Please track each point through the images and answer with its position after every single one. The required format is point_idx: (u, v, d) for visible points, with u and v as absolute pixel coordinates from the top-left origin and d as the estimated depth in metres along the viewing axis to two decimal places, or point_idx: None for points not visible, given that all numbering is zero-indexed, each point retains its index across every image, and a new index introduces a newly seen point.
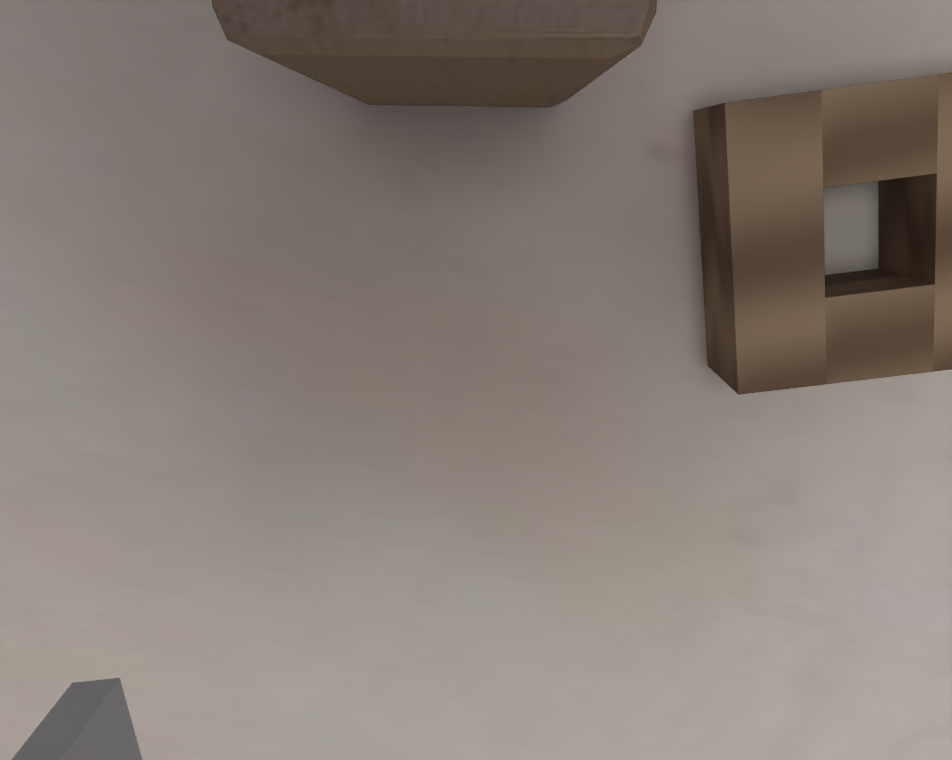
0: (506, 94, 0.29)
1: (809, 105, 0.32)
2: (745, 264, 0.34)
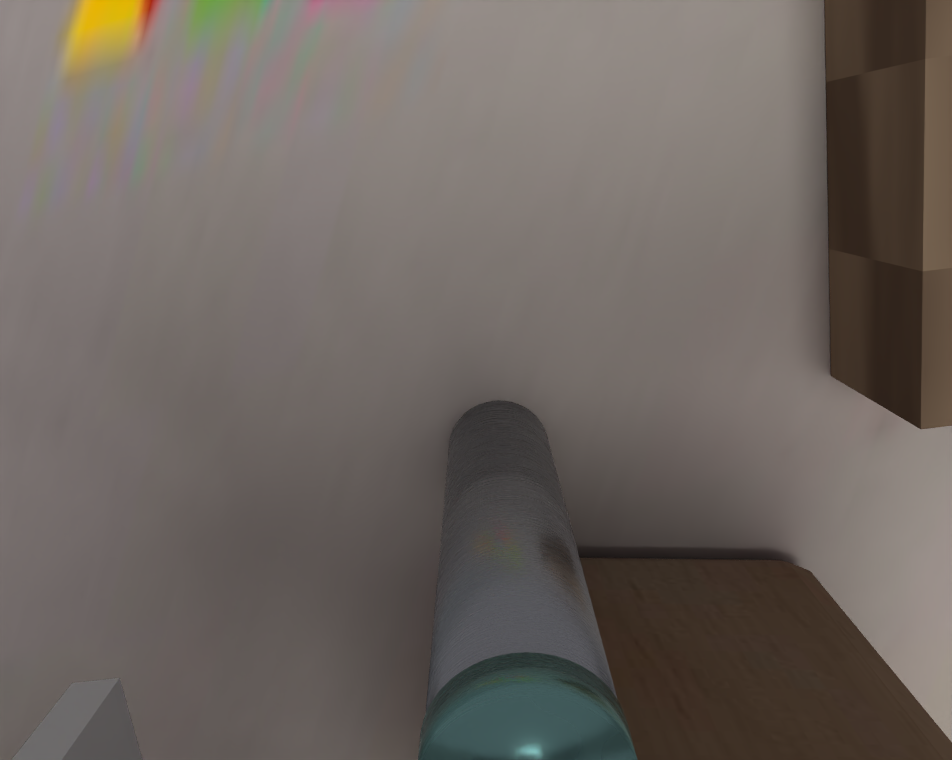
0: None
1: (945, 289, 0.18)
2: None
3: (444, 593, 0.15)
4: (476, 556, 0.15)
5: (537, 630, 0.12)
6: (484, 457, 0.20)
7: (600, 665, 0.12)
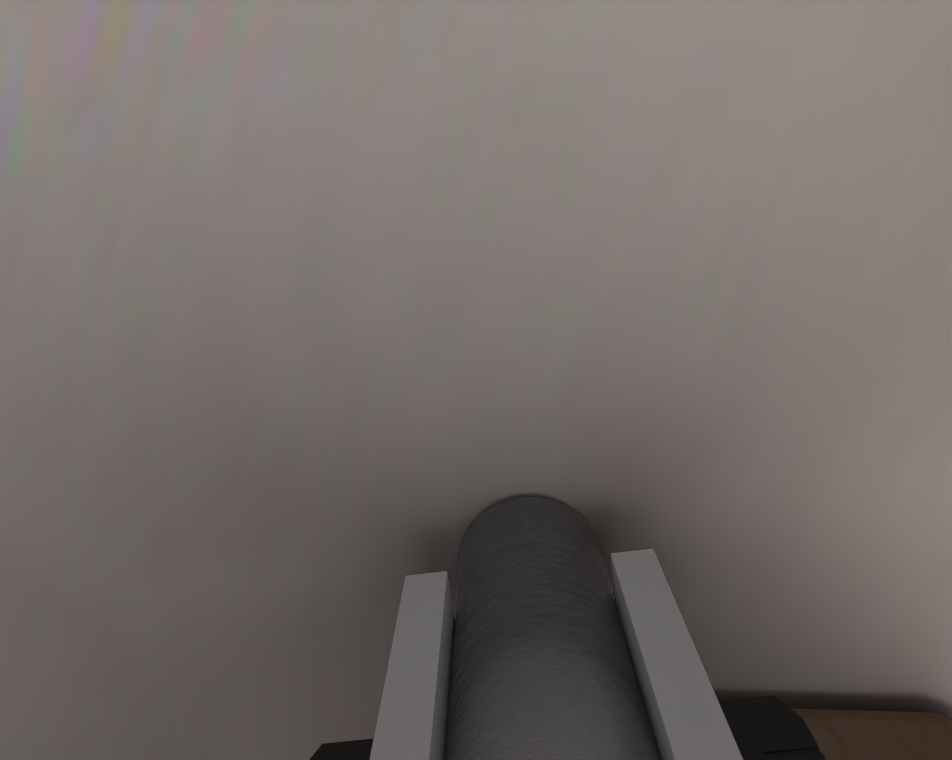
0: None
1: None
2: None
3: None
4: None
5: None
6: (514, 622, 0.12)
7: None
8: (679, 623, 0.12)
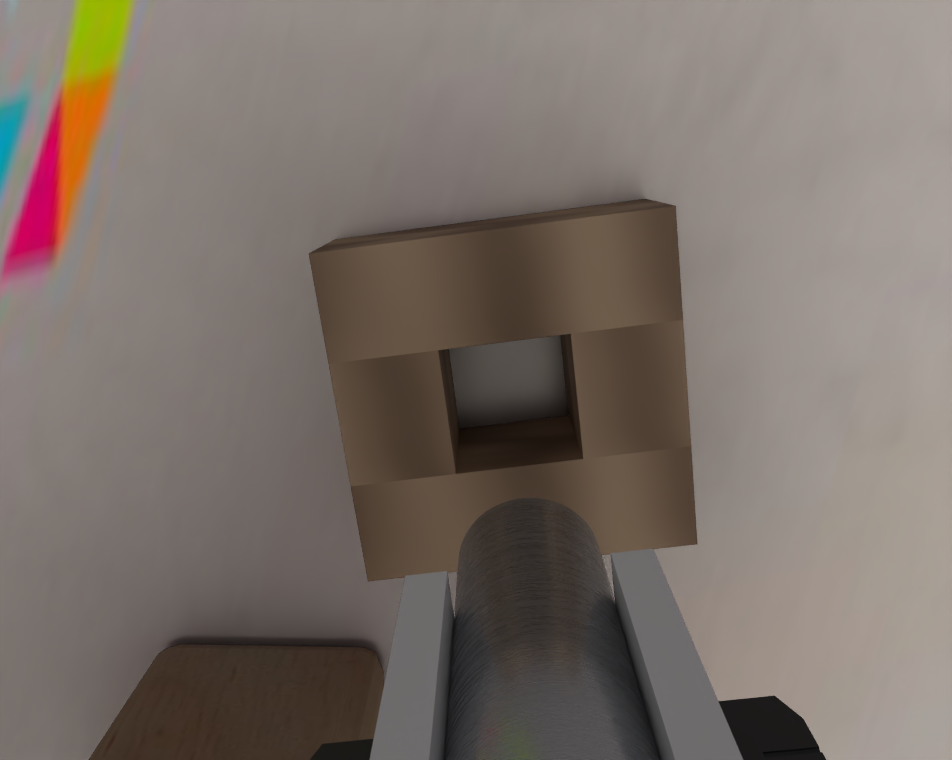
0: None
1: (367, 497, 0.29)
2: None
3: None
4: None
5: None
6: (512, 624, 0.12)
7: None
8: (679, 623, 0.12)
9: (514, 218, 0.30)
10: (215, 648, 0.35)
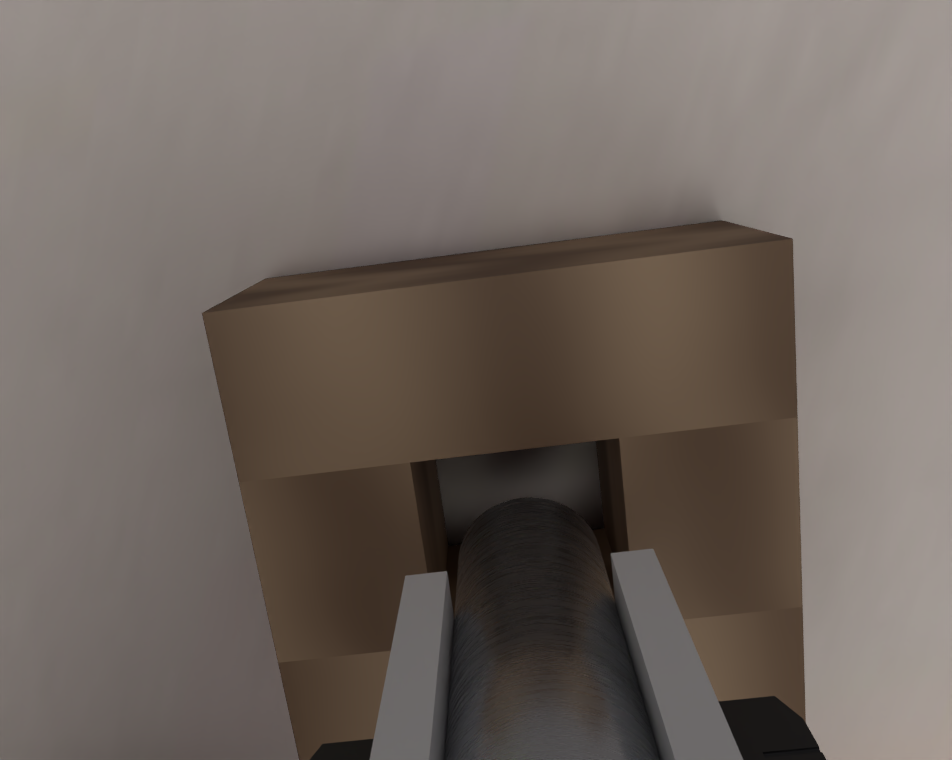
0: None
1: (303, 678, 0.19)
2: None
3: None
4: None
5: None
6: (513, 624, 0.12)
7: None
8: (679, 623, 0.12)
9: (528, 250, 0.20)
10: None
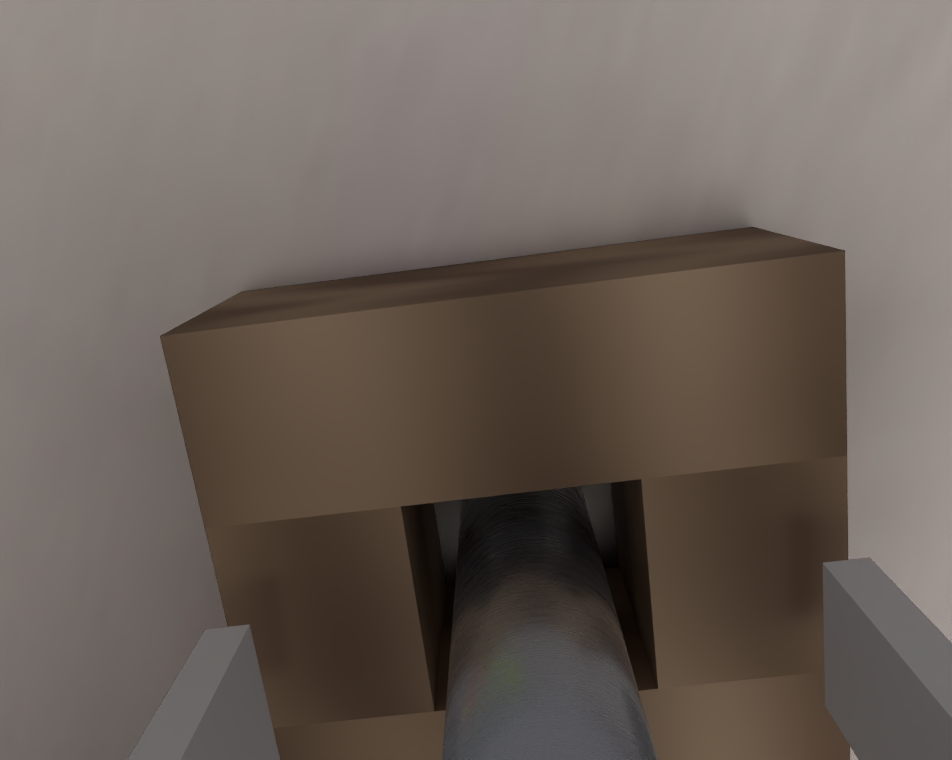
0: None
1: (281, 747, 0.17)
2: None
3: (455, 743, 0.11)
4: (499, 690, 0.11)
5: None
6: (505, 523, 0.16)
7: None
8: (944, 642, 0.11)
9: (536, 261, 0.18)
10: None
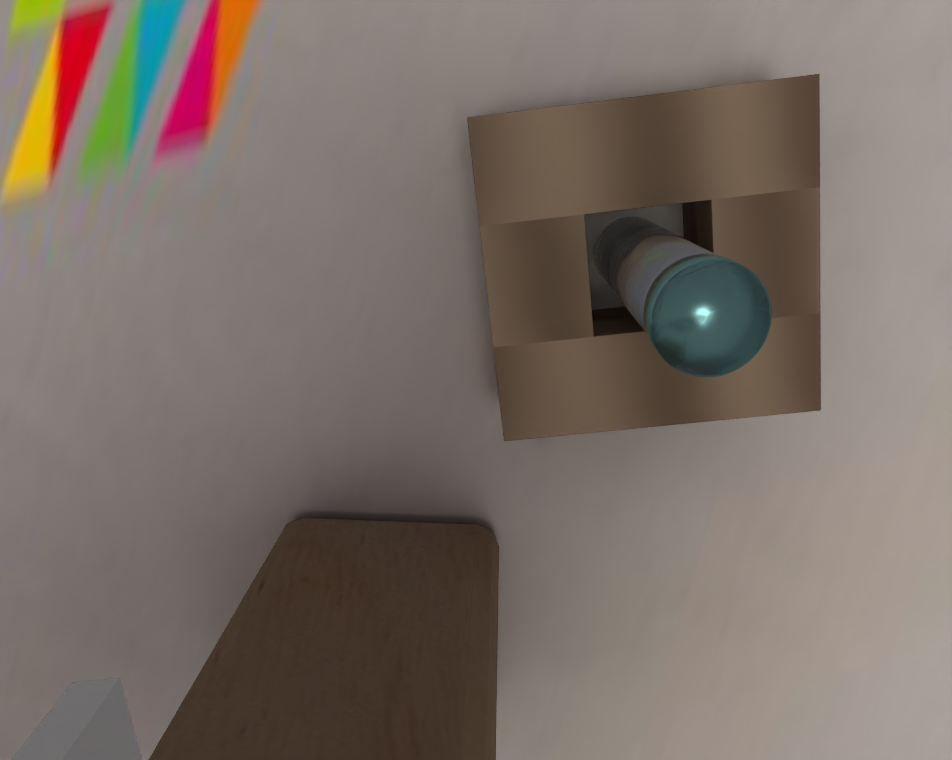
0: None
1: (508, 358, 0.31)
2: (671, 411, 0.31)
3: (637, 266, 0.25)
4: (656, 247, 0.25)
5: (708, 253, 0.22)
6: (637, 229, 0.30)
7: None
8: None
9: None
10: (340, 520, 0.37)
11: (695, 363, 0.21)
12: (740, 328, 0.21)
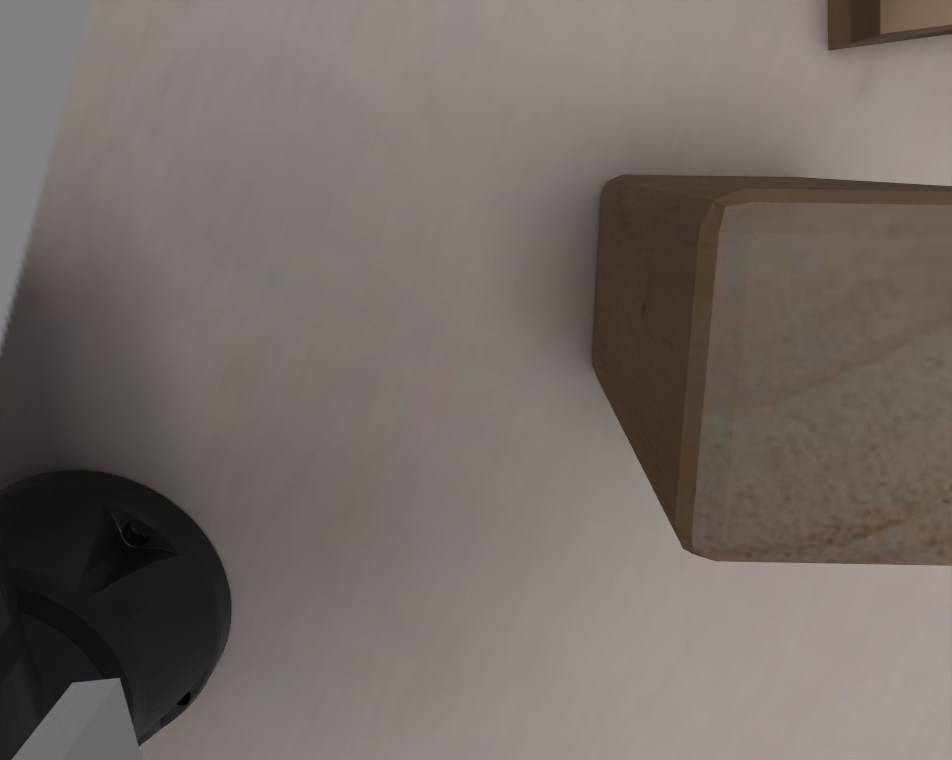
0: None
1: None
2: None
3: None
4: None
5: None
6: None
7: None
8: None
9: None
10: (662, 175, 0.37)
11: None
12: None
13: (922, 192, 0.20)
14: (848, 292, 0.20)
